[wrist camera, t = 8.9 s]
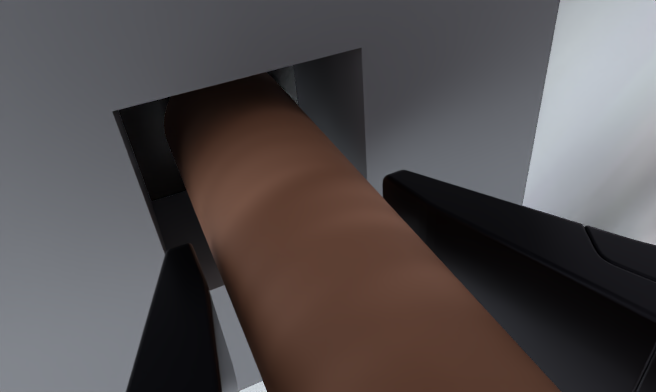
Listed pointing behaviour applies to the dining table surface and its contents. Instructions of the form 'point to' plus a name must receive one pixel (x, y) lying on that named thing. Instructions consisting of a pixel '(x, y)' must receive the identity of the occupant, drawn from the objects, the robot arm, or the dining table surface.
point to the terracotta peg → (327, 258)
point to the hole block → (200, 72)
